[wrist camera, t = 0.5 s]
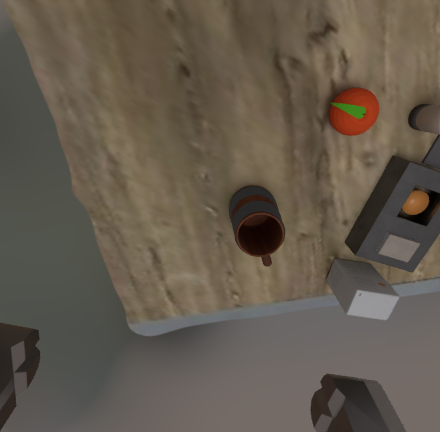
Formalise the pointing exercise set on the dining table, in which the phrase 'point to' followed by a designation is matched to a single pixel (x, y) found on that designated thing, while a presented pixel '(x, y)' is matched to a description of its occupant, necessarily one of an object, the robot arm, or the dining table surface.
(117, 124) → the dining table surface
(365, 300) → the small box
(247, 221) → the mug
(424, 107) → the white cylinder
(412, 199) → the orange rounded piece
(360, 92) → the clementine
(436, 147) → the mat
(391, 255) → the panel
